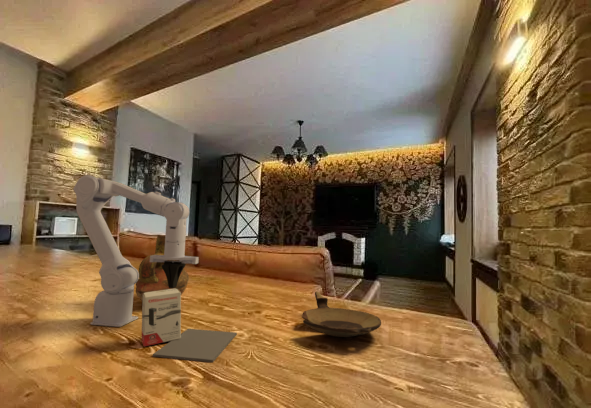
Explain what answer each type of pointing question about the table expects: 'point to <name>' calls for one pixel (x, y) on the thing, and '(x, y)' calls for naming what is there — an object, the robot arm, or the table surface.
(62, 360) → the table surface
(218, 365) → the table surface
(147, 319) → the ink box
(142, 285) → the ceramic vessel
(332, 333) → the broken handled dish
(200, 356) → the mat
